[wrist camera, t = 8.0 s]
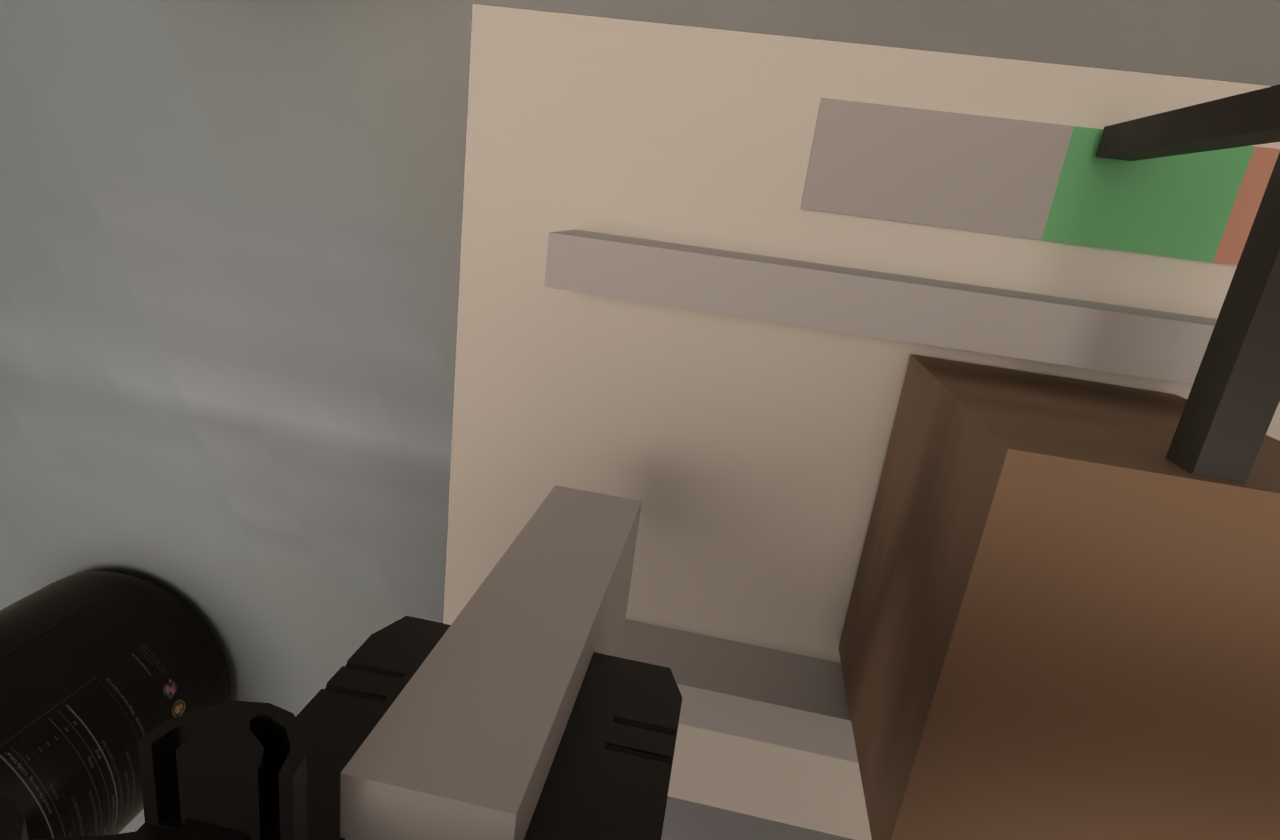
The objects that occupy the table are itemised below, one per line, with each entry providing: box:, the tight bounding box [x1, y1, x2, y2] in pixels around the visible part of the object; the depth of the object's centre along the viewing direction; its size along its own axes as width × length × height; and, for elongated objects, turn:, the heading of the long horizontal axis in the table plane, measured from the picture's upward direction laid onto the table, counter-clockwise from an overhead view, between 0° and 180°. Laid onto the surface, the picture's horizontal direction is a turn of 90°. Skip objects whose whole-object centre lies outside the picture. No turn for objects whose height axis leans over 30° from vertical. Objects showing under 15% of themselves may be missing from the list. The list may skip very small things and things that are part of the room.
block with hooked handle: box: [838, 85, 1280, 840], centre depth 12 cm, size 12×5×6 cm, turn 173°
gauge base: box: [443, 4, 1280, 840], centre depth 15 cm, size 18×22×4 cm
